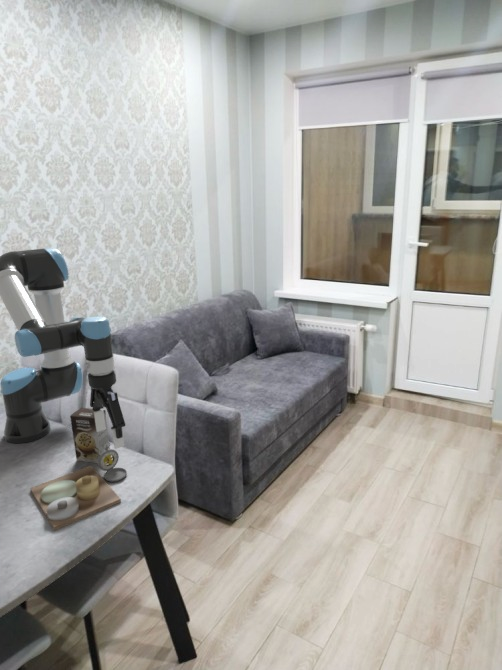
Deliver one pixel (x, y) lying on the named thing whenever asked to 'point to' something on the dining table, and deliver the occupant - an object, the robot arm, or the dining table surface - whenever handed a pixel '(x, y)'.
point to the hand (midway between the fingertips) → (110, 438)
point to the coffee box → (88, 435)
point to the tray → (74, 497)
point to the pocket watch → (110, 465)
